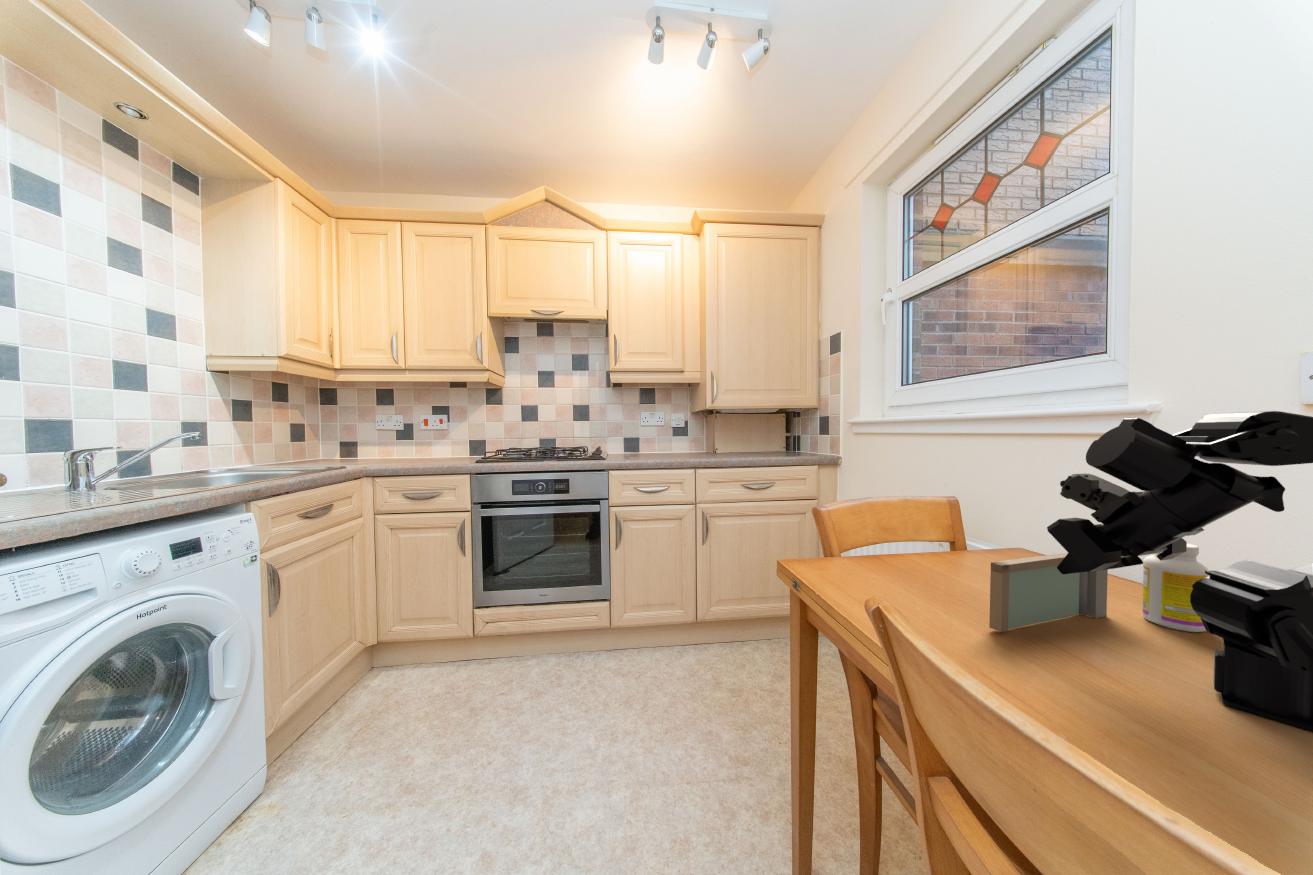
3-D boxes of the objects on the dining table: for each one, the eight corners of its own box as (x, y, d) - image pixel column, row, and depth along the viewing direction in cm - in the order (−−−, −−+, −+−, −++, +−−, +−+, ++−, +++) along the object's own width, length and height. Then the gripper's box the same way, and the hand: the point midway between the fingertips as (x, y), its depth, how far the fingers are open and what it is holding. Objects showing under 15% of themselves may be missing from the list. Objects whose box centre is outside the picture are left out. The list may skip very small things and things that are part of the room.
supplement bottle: (1222, 634, 65) (1224, 549, 65) (1177, 633, 65) (1179, 548, 65) (1170, 615, 72) (1172, 538, 72) (1129, 614, 72) (1131, 538, 72)
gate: (1074, 609, 72) (1075, 550, 72) (1089, 614, 71) (1091, 554, 70) (987, 626, 66) (989, 562, 65) (1002, 632, 64) (1003, 565, 64)
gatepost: (1083, 608, 74) (1085, 539, 74) (1106, 615, 71) (1108, 543, 71) (1072, 611, 73) (1074, 540, 73) (1095, 618, 70) (1097, 544, 70)
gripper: (1154, 454, 59) (1055, 519, 69) (1068, 455, 53) (973, 526, 63) (1246, 523, 51) (1120, 584, 62) (1158, 533, 45) (1034, 599, 56)
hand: (1060, 570), depth 61 cm, fingers closed
